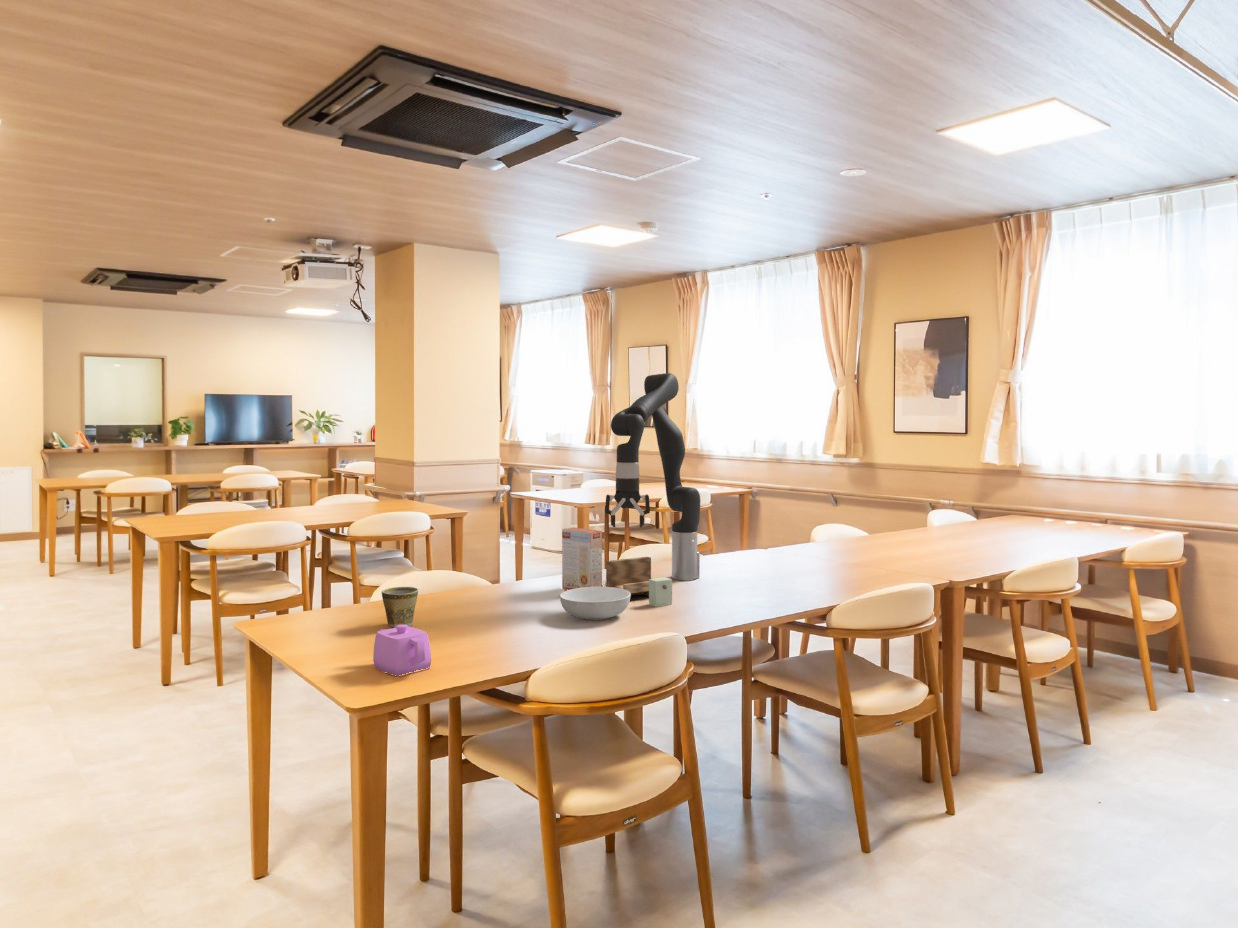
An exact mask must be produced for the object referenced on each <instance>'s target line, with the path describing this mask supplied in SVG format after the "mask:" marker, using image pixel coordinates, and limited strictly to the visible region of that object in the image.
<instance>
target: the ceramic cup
mask: <svg viewBox="0 0 1238 928" xmlns="http://www.w3.org/2000/svg"><path fill="white" fill-rule="evenodd" d="M418 594H419V589H418V588H417V587H412V586H394V587H389V588H385V589H383V590H382V591H381V597H382V603H383V607H384V612H385V615H386V621H387V627H389V628H391V627H393V628H396V626H397V625H407V626H409V627H412V625H413V622H414V621H413V620H414V616H415V615H414V614H415V609H416V605H417V601H418V596H419V595H418Z"/></svg>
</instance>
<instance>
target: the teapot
mask: <svg viewBox="0 0 1238 928" xmlns="http://www.w3.org/2000/svg"><path fill="white" fill-rule="evenodd" d="M431 653H432V652H431V645H430V641H429V636H428V633H427V632H426V631H424V630H422V629H419V628H416V627H413V626H410V627H409V626H407V625H397V626H396V628H388V629H385V628H384V629H378V631H376V634H375V638H374V643H373V656H372V657H373V658H372V659H373V665H374V668H375V667H376V668H375V669H377V670H378V669H379V671H380V670H382V671H383V672H382V671H381V672H382V673H384V672H387V673H389V674H393V675H396V676H395V677H397V676H399V675H402V674H406V673H409V672H414V671H416V670H421V669H426V668H428V667H430V668H431V663H432V654H431ZM387 673H386V674H387ZM389 674H388V675H389ZM393 675H392V676H393ZM399 677H400V676H399Z"/></svg>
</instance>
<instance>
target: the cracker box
mask: <svg viewBox="0 0 1238 928" xmlns="http://www.w3.org/2000/svg"><path fill="white" fill-rule="evenodd" d="M561 530H562V531H561V532H562V533H561V537H562V539H561V541H562V543H561V544H562V546H561V550H562V551H561V553H562V554H561V555H562V556H561V557H562V560H561V564H562V565H561V566H562V567H561V569H562V570H561V571H562V572H561V573H562V575H561V576H562V577H561V578H562V581H561V582H562V585H561V589H562V590H565V591H567V590H571V589H576V588H583V587H603V531H602V530H597V529H589V528H581V527H567V528H562V529H561Z"/></svg>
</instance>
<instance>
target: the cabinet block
mask: <svg viewBox="0 0 1238 928" xmlns="http://www.w3.org/2000/svg"><path fill="white" fill-rule="evenodd" d="M648 604H649V605H650V606H652V607H654V608H657V607H664V606H665V607H666V606H671V605H673V578H669V577H664V576H663V577H657V578H651V579H649V596H648Z"/></svg>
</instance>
